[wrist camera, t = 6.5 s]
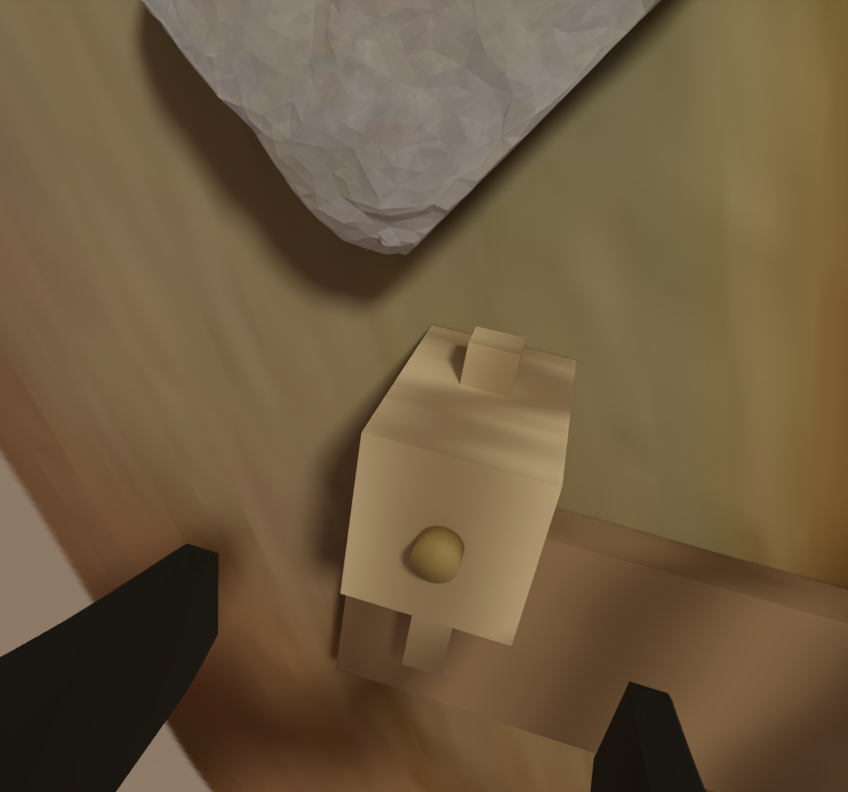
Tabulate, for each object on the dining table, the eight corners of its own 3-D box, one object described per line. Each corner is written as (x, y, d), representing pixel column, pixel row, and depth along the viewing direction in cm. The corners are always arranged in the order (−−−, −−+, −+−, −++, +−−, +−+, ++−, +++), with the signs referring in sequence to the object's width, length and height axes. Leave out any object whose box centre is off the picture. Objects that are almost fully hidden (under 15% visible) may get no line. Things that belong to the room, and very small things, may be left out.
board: (1001, 632, 18) (1031, 675, 17) (864, 799, 22) (879, 845, 21) (376, 458, 21) (361, 485, 20) (350, 636, 25) (335, 668, 24)
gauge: (587, 322, 17) (576, 455, 12) (500, 617, 23) (462, 808, 17) (438, 287, 18) (357, 398, 12) (386, 582, 23) (313, 757, 17)
